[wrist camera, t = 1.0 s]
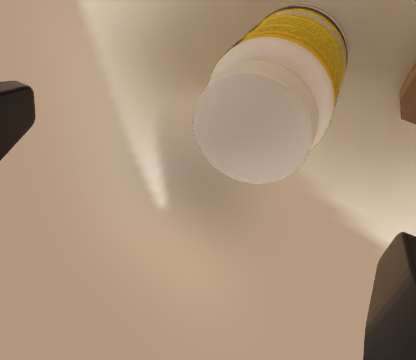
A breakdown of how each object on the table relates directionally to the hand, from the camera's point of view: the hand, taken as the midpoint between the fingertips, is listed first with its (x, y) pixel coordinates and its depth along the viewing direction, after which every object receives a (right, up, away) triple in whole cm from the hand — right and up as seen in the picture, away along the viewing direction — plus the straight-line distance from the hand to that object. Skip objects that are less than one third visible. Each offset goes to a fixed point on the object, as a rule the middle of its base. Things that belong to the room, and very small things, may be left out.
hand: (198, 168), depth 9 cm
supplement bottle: (+5, +6, +10) cm, 13 cm away
